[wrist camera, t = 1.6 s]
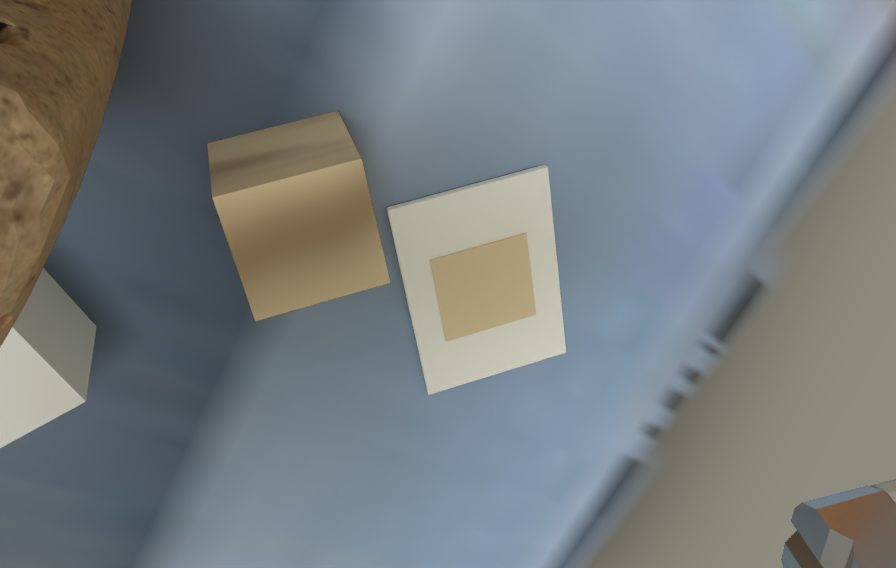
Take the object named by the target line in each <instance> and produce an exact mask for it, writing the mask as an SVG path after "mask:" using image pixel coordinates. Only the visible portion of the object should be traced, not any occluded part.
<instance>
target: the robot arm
mask: <svg viewBox="0 0 896 568" xmlns="http://www.w3.org/2000/svg"><path fill="white" fill-rule="evenodd" d="M791 522H792V523H793V525H794V526H795V528H796V529H797V531H796V532H795V533H794V534H793V535H792V536H791V538H789V539H788V540H787V542H785V545H784V550H783V555H782V564H783V568H896V479H894V480H890V481H886V482H883V483H878V484H874V485H871V486H868V485H867V486H863V487H859V488H855V489H851V490H848V491H844V492H840V493H836V494H832V495H829V496H825V497H821V498H817V499H813V500H809V501H806V502H802V503H801V504H799V505H798V506H797V507H796V508H795V509H794V512H793V515H792V519H791Z"/></svg>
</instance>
